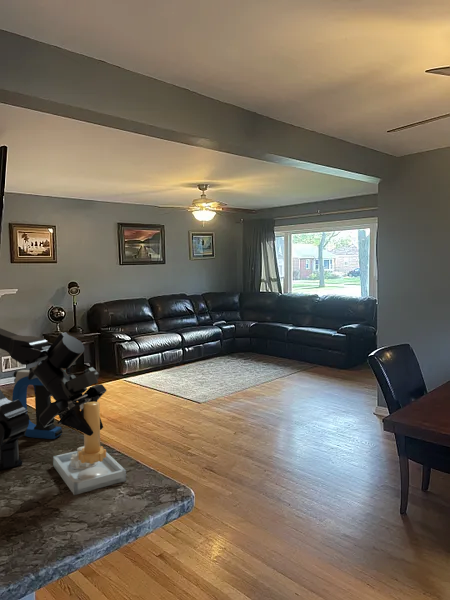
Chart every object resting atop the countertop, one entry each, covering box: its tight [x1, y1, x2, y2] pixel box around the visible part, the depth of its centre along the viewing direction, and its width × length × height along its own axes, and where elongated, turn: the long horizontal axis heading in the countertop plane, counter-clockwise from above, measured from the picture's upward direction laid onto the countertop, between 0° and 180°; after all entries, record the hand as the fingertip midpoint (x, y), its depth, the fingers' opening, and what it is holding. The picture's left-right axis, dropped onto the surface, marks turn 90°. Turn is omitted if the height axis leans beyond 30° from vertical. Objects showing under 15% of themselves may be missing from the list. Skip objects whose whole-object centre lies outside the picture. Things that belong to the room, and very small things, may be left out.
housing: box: [52, 445, 127, 496], centre depth 111 cm, size 18×12×5 cm, turn 34°
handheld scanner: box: [11, 369, 67, 440], centre depth 136 cm, size 5×16×20 cm, turn 79°
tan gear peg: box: [78, 401, 107, 464], centre depth 108 cm, size 6×6×13 cm
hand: (96, 431), depth 107 cm, fingers closed on tan gear peg, 4 cm apart
